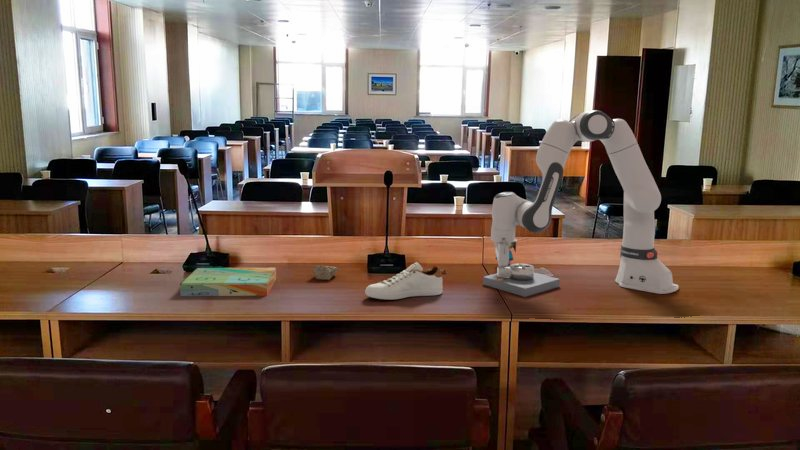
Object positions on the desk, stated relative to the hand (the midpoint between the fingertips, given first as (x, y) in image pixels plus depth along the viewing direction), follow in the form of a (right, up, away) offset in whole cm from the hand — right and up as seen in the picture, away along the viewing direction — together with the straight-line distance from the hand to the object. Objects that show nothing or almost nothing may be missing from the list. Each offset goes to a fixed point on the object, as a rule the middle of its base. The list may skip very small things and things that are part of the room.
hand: (501, 271), depth 236 cm
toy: (+6, 0, +26) cm, 27 cm away
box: (-100, -6, -5) cm, 101 cm away
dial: (+5, -2, -2) cm, 6 cm away
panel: (+7, -5, -1) cm, 9 cm away
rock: (-67, -3, +9) cm, 68 cm away
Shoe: (-37, -8, -14) cm, 40 cm away
